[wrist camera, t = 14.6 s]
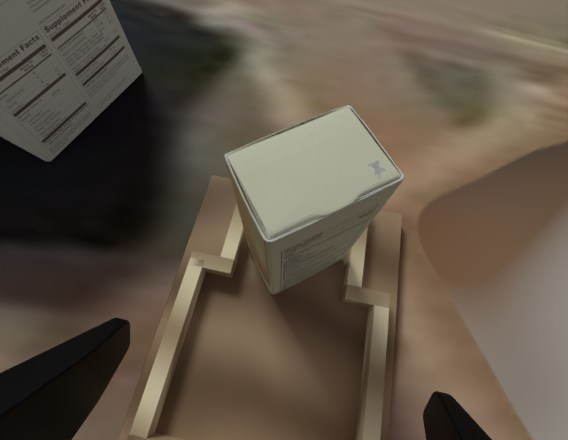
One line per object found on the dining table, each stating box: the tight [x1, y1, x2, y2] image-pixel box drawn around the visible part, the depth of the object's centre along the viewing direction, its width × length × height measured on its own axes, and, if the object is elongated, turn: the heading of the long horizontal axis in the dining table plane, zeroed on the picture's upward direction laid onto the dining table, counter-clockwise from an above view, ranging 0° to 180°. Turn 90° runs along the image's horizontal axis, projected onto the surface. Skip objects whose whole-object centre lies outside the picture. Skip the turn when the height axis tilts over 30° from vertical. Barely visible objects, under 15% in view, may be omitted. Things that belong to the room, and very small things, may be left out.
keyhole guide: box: [118, 175, 402, 440], centre depth 21 cm, size 19×16×3 cm
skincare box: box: [225, 105, 404, 295], centre depth 18 cm, size 6×4×12 cm
